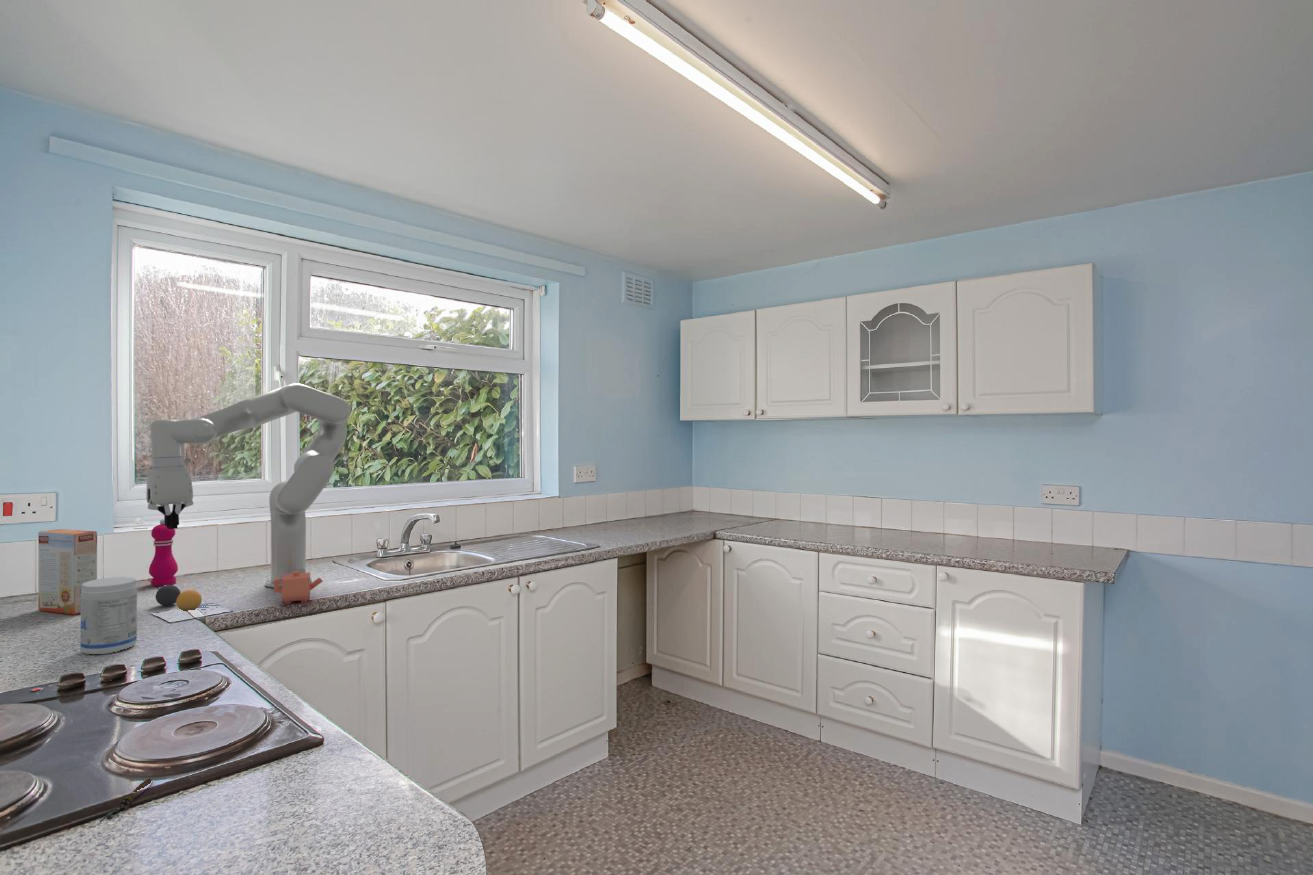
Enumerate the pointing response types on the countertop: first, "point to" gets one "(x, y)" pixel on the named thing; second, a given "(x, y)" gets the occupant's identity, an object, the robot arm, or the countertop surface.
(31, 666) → the countertop surface
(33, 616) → the countertop surface
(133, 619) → the supplement tub
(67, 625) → the countertop surface
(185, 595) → the orange ball
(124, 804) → the can opener
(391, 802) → the countertop surface
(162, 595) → the dark grey ball
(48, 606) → the cracker box
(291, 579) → the pink cube teapot
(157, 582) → the pepper mill
